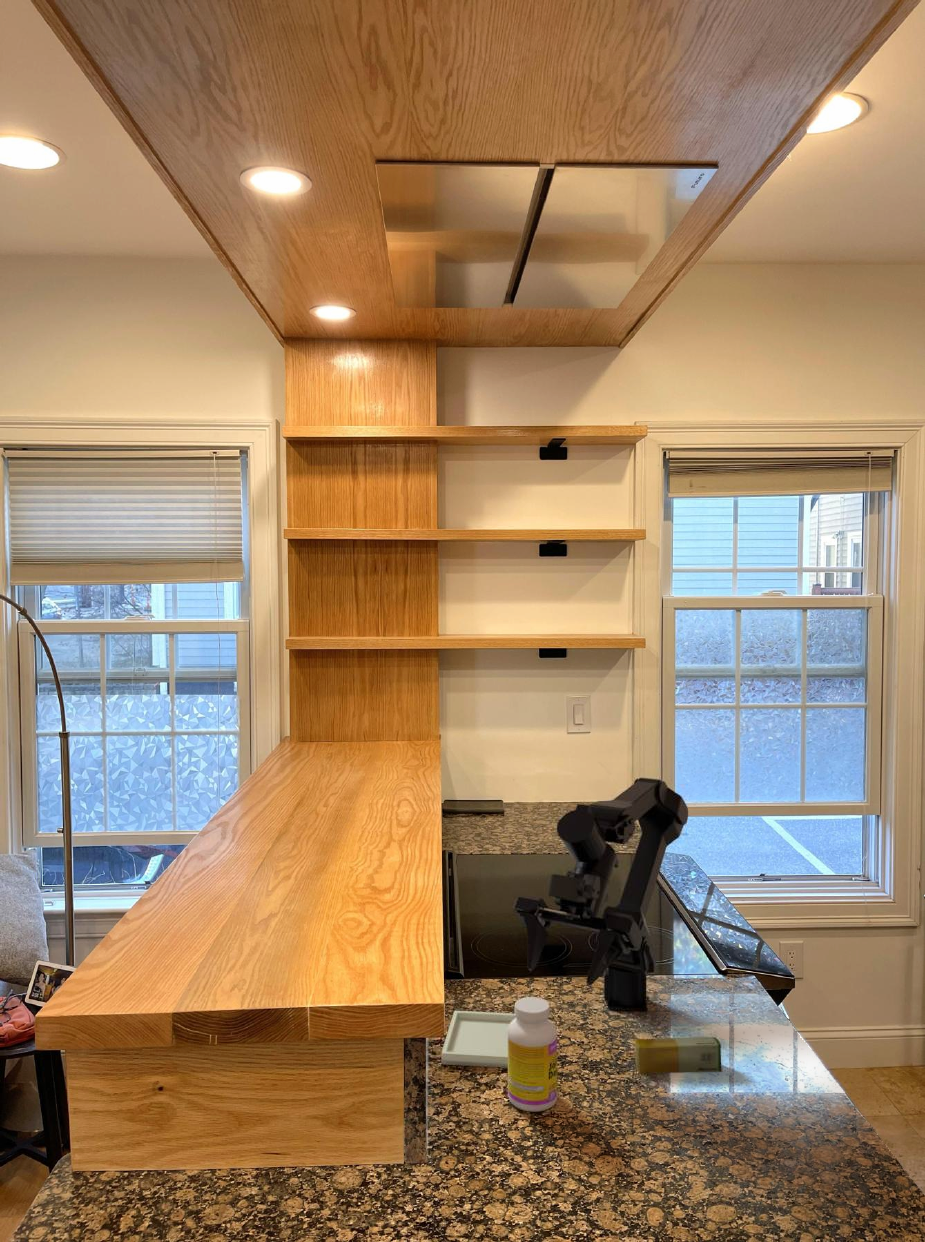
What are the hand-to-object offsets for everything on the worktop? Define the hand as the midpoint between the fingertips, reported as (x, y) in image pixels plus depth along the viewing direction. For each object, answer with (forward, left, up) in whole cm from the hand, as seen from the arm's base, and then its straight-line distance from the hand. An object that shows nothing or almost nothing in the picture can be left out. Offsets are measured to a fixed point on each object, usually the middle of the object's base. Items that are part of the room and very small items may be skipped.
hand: (558, 976), depth 123 cm
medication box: (-17, -3, -14) cm, 22 cm away
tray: (+10, -7, -14) cm, 18 cm away
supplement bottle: (+3, +7, -14) cm, 16 cm away
